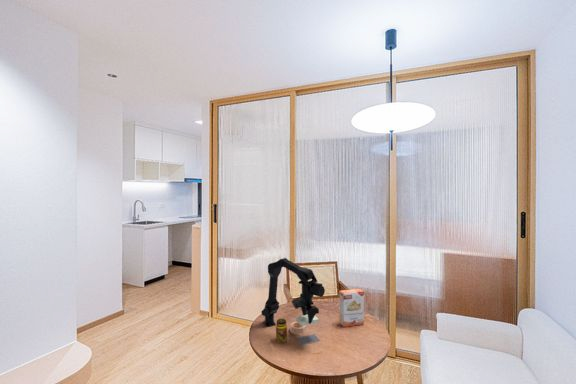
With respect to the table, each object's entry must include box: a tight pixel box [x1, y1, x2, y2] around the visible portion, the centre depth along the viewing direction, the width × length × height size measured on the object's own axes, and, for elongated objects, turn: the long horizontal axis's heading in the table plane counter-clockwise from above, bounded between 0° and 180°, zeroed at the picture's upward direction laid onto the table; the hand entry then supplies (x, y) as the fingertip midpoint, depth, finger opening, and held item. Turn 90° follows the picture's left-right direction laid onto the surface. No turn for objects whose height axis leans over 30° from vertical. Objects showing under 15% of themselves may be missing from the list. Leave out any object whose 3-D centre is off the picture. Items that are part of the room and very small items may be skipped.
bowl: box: [289, 321, 307, 336], centre depth 168 cm, size 9×9×4 cm
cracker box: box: [339, 288, 365, 328], centre depth 177 cm, size 14×6×21 cm, turn 105°
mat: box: [295, 334, 321, 346], centre depth 158 cm, size 8×12×1 cm
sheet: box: [295, 314, 319, 326], centre depth 158 cm, size 7×10×2 cm
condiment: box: [275, 318, 288, 344], centre depth 158 cm, size 7×8×12 cm
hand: (307, 320), depth 158 cm, fingers closed on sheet, 7 cm apart
